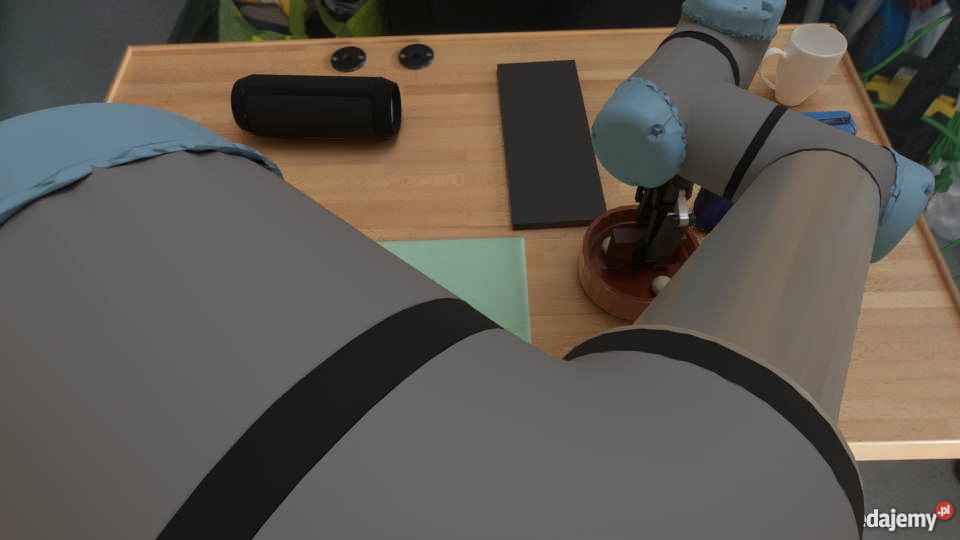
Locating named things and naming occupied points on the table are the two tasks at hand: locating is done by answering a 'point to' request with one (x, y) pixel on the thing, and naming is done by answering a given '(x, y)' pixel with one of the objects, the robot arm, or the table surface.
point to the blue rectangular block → (715, 207)
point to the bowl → (622, 286)
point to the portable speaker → (317, 106)
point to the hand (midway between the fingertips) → (639, 258)
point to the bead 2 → (659, 284)
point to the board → (548, 146)
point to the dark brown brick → (634, 248)
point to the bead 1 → (605, 245)
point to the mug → (805, 62)
